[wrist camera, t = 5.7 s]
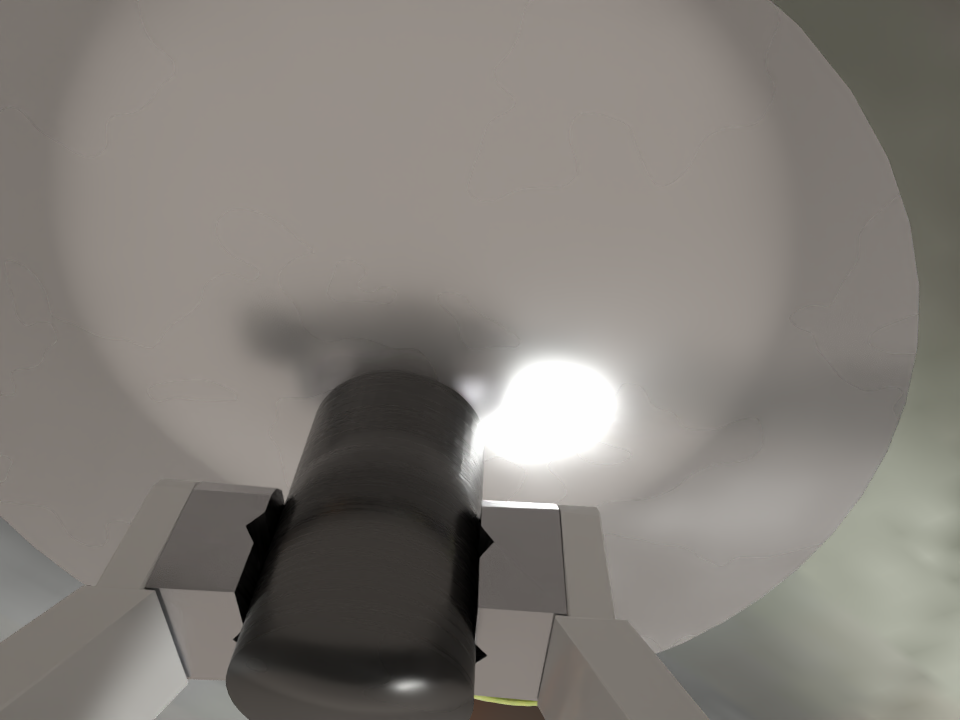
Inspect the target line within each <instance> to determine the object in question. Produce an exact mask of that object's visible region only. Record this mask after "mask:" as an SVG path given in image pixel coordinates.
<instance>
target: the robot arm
mask: <svg viewBox="0 0 960 720" xmlns="http://www.w3.org/2000/svg"><path fill="white" fill-rule="evenodd" d="M284 505H285V503H284V498H283V493H282V490H280V489H278V488H269V487H258V486H247V485H236V484H224V483H213V482H202V481H201V482H197V481H185V480H173V479H161V480H160V481H159V482H158V483H157V484H155V485H154V486H153V487H152V488H151V489H150V491H149V493H148V495H147V497H146V498H145V500H144V502H143V504H142V505H141V507H140V509H139V511H138V512H137V514H136V516H135V518H134V519H133V521H132V523H131V525H130V526H129V528H128V530H127V532H126V533H125V535H124V537H123V539H122V540H121V542H120V544H119V546H118V547H117V549H116V551H115V553H114V554H113V556H112V558H111V560H110V561H109V563H108V565H107V567H106V569H105V570H104V572H103V574H102V576H101V577H100V579H99V581H98V583H97V584H96V586H82V587H80V588H79V589H77V590H76V591H75V592H73V593H72V594H70V595H69V596H67V597H66V598H64V599H63V600H62V601H60V602H59V603H57V604H56V605H54V606H53V607H51V608H50V609H49V610H47V611H46V612H44V613H43V614H41V615H40V616H38V617H37V618H36V619H34V620H33V621H31V622H30V623H28V624H27V625H25V626H24V627H23V628H21V629H20V630H18V631H17V632H15V633H14V634H12V635H11V636H9V637H8V638H7V639H5V640H4V641H2V642H1V643H0V720H154V719H155V718H156V717H157V716H158V715H159V714H160V713H161V712H162V710H163V709H164V708H165V707H166V706H167V705H168V704H169V703H170V702H171V701H172V700H173V699H174V698H175V697H176V696H177V695H178V694H179V693H180V692H181V691H182V690H183V689H184V688H185V687H186V686H187V684H188V680H187V679H200V680H226V674H227V670H228V667H229V664H230V661H231V658H232V655H233V652H234V649H235V646H236V643H237V641H238V638H239V635H240V632H241V629H242V626H243V623H244V620H245V617H246V614H247V612H248V609H249V606H250V603H251V600H252V597H253V594H254V591H255V588H256V586H257V583H258V580H259V577H260V574H261V571H262V568H263V565H264V562H265V560H266V557H267V554H268V551H269V548H270V545H271V542H272V539H273V536H274V534H275V531H276V528H277V525H278V522H279V519H280V516H281V513H282V510H283V507H284ZM478 562H479V571H478V581H477V592H476V618H475V644H476V662H475V686H474V695H476V696H487V697H498V698H509V699H520V700H532V701H538V702H537V705H538V707H539V709H540V711H541V712H542V714H543V716H544V718H545V720H709V718H708V717H707V716H706V715H705V713H704V712H703V711H702V710H701V709H700V707H699V706H698V705H697V704H696V703H695V701H694V700H693V699H692V698H691V697H690V695H689V694H688V693H687V692H686V690H685V689H684V688H683V687H682V686H681V684H680V683H679V682H678V681H677V680H676V678H675V677H674V676H673V675H672V673H671V672H670V671H669V670H668V669H667V667H666V666H665V665H664V664H663V663H662V661H661V660H660V659H659V658H658V657H657V655H656V654H655V653H654V652H653V650H652V649H651V648H650V647H649V646H648V644H647V643H646V642H645V641H644V640H643V638H642V637H641V636H640V635H639V633H638V632H637V631H636V630H635V629H634V627H633V626H632V625H631V624H630V623H629V621H628V620H620V619H615V613H614V606H613V599H612V592H611V585H610V577H609V570H608V563H607V556H606V549H605V542H604V535H603V528H602V521H601V514H600V512H599V510H598V509H597V507H588V506H571V505H558V506H557V505H556V504H543V503H524V502H504V501H485V500H482V504H481V514H480V529H479V548H478Z"/></svg>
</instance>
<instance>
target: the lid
mask: <svg viewBox="0 0 960 720" xmlns="http://www.w3.org/2000/svg"><path fill="white" fill-rule="evenodd" d="M918 317H919V281H918V274H917V267H916V260H915V253H914V246H913V239H912V232H911V225H910V222H909V219H908V216H907V213H906V210H905V207H904V204H903V201H902V198H901V195H900V192H899V189H898V186H897V183H896V180H895V177H894V174H893V171H892V168H891V165H890V162H889V159H888V157H887V155H886V153H885V151H884V150H883V148H882V146H881V144H880V142H879V140H878V139H877V137H876V135H875V133H874V131H873V129H872V128H871V126H870V124H869V122H868V120H867V119H866V117H865V115H864V113H863V111H862V109H861V108H860V106H859V104H858V102H857V100H856V98H855V97H854V95H853V93H852V91H851V90H850V89H849V87H848V86H847V85H846V84H845V82H844V81H843V80H842V79H841V77H840V76H839V75H838V74H837V72H836V71H835V70H834V69H833V67H832V66H831V65H830V64H829V62H828V61H827V60H826V59H825V57H824V56H823V55H822V54H821V52H820V51H819V50H818V49H817V47H816V46H815V45H814V44H813V42H812V41H811V40H810V39H809V37H808V36H807V35H806V34H805V32H804V31H803V30H802V29H801V27H800V26H799V25H798V24H797V23H796V22H794V21H793V20H792V19H791V18H790V17H789V16H788V15H787V14H785V13H784V12H783V11H782V10H781V9H780V8H779V7H778V6H776V5H775V4H774V3H773V2H772V1H771V0H0V516H1V517H2V518H3V519H4V520H6V521H7V522H8V523H9V524H10V525H11V526H12V527H13V528H14V529H15V530H16V531H17V532H18V533H20V534H21V535H22V536H23V537H24V538H25V539H26V540H27V541H28V542H29V543H30V544H31V545H33V546H34V547H35V548H36V549H38V550H39V551H40V552H41V553H43V554H44V555H45V556H47V557H48V558H49V559H51V560H52V561H53V562H55V563H56V564H57V565H58V566H60V567H61V568H62V569H64V570H65V571H66V572H68V573H69V574H70V575H71V576H73V577H74V578H76V579H77V580H79V581H80V582H82V583H84V584H85V585H87V586H96V584H97V583H98V581H99V579H100V577H101V576H102V574H103V572H104V570H105V569H106V567H107V565H108V563H109V561H110V560H111V558H112V556H113V554H114V553H115V551H116V549H117V547H118V546H119V544H120V542H121V540H122V539H123V537H124V535H125V533H126V532H127V530H128V528H129V526H130V525H131V523H132V521H133V519H134V518H135V516H136V514H137V512H138V511H139V509H140V507H141V505H142V504H143V502H144V500H145V498H146V497H147V495H148V493H149V491H150V489H151V488H152V487H153V486H154V485H155V484H157V483H158V482H159V481H160V480H161V479H173V480H185V481H197V482H201V481H202V482H213V483H224V484H236V485H247V486H258V487H269V488H278V489H280V490H282V493H283V498H284V503H285V505H284V507H283V510H282V513H281V516H280V519H279V522H278V525H277V528H276V531H275V534H274V536H273V539H272V542H271V545H270V548H269V551H268V554H267V557H266V560H265V562H264V565H263V568H262V571H261V574H260V577H259V580H258V583H257V586H256V588H255V591H254V594H253V597H252V600H251V603H250V606H249V609H248V612H247V614H246V617H245V620H244V623H243V626H242V629H241V632H240V635H239V638H238V641H237V643H236V646H235V649H234V652H233V655H232V658H231V661H230V664H229V667H228V670H227V674H226V687H227V690H228V694H229V696H230V698H231V700H232V702H233V703H234V704H235V706H236V707H237V708H238V710H239V711H240V712H241V713H242V714H243V715H244V716H246V717H247V718H248V719H249V720H469V719H470V717H471V714H472V711H473V705H474V686H475V662H476V644H475V618H476V592H477V581H478V571H479V562H478V548H479V529H480V514H481V504H482V500H485V501H504V502H524V503H543V504H556V505H557V506H558V505H571V506H588V507H597V509H598V510H599V512H600V514H601V521H602V528H603V535H604V542H605V549H606V556H607V563H608V570H609V577H610V585H611V592H612V599H613V606H614V613H615V619H620V620H628V621H629V623H630V624H631V625H632V626H633V627H634V629H635V630H636V631H637V632H638V633H639V635H640V636H641V637H642V638H643V640H644V641H645V642H646V643H647V644H648V646H649V647H650V648H651V649H652V650H653V652H654V653H655V654H656V653H659V652H661V651H664V650H666V649H669V648H671V647H674V646H676V645H679V644H681V643H684V642H686V641H688V640H690V639H691V638H693V637H695V636H697V635H699V634H701V633H703V632H705V631H707V630H709V629H711V628H713V627H715V626H717V625H719V624H721V623H723V622H725V621H726V620H728V619H729V618H731V617H732V616H734V615H735V614H737V613H739V612H740V611H742V610H743V609H745V608H746V607H748V606H750V605H751V604H753V603H754V602H756V601H757V600H759V599H761V598H762V597H763V596H765V595H766V594H767V593H768V592H770V591H771V590H772V589H773V588H775V587H776V586H777V585H778V584H780V583H781V582H782V581H783V580H785V579H786V578H787V577H788V576H790V575H791V574H792V573H793V572H795V571H796V570H797V569H798V568H799V567H800V566H801V565H802V564H803V563H804V562H805V561H806V560H807V559H808V558H809V557H810V556H811V555H812V554H813V553H814V552H815V551H816V550H817V549H818V548H819V547H820V546H821V545H822V544H823V543H824V542H825V541H826V540H827V539H828V538H829V537H830V536H831V535H832V534H833V533H834V531H835V530H836V529H837V528H838V526H839V525H840V524H841V522H842V521H843V520H844V518H845V517H846V516H847V514H848V513H849V512H850V511H851V509H852V508H853V507H854V505H855V504H856V503H857V501H858V500H859V499H860V498H861V496H862V495H863V493H864V491H865V489H866V488H867V486H868V484H869V482H870V481H871V479H872V477H873V475H874V474H875V472H876V470H877V468H878V467H879V465H880V463H881V461H882V460H883V458H884V456H885V454H886V453H887V450H888V448H889V445H890V443H891V440H892V437H893V435H894V432H895V430H896V427H897V424H898V422H899V419H900V417H901V414H902V411H903V409H904V406H905V404H906V400H907V395H908V391H909V386H910V381H911V376H912V371H913V367H914V362H915V357H916V352H917V347H918Z"/></svg>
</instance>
